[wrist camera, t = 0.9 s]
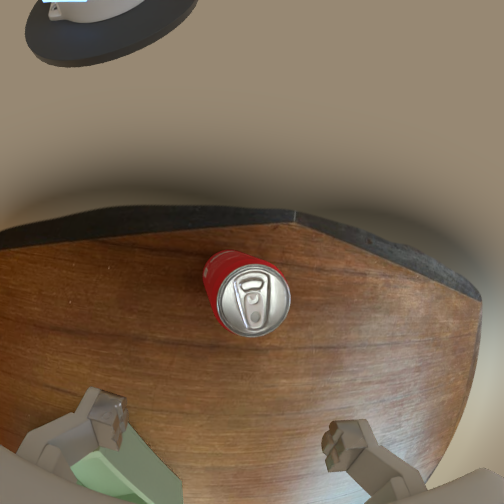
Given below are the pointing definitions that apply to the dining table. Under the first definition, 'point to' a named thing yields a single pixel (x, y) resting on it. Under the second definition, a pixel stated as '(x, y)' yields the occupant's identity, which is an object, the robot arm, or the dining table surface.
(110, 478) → the bin
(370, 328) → the dining table surface
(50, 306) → the dining table surface
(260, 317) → the beverage can
